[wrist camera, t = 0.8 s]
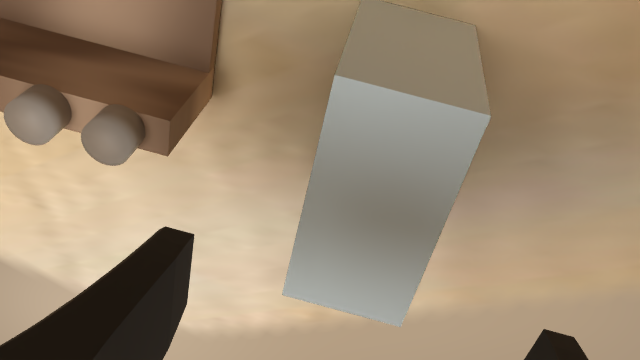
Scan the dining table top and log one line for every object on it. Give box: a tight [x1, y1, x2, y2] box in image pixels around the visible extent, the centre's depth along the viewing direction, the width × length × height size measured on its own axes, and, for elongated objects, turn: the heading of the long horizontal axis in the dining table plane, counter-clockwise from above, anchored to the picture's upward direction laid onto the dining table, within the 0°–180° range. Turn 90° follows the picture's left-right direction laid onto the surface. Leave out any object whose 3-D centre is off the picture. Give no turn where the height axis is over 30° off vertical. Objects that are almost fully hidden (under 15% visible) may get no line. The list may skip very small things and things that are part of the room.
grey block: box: [282, 0, 491, 327], centre depth 17 cm, size 4×7×6 cm, turn 168°
